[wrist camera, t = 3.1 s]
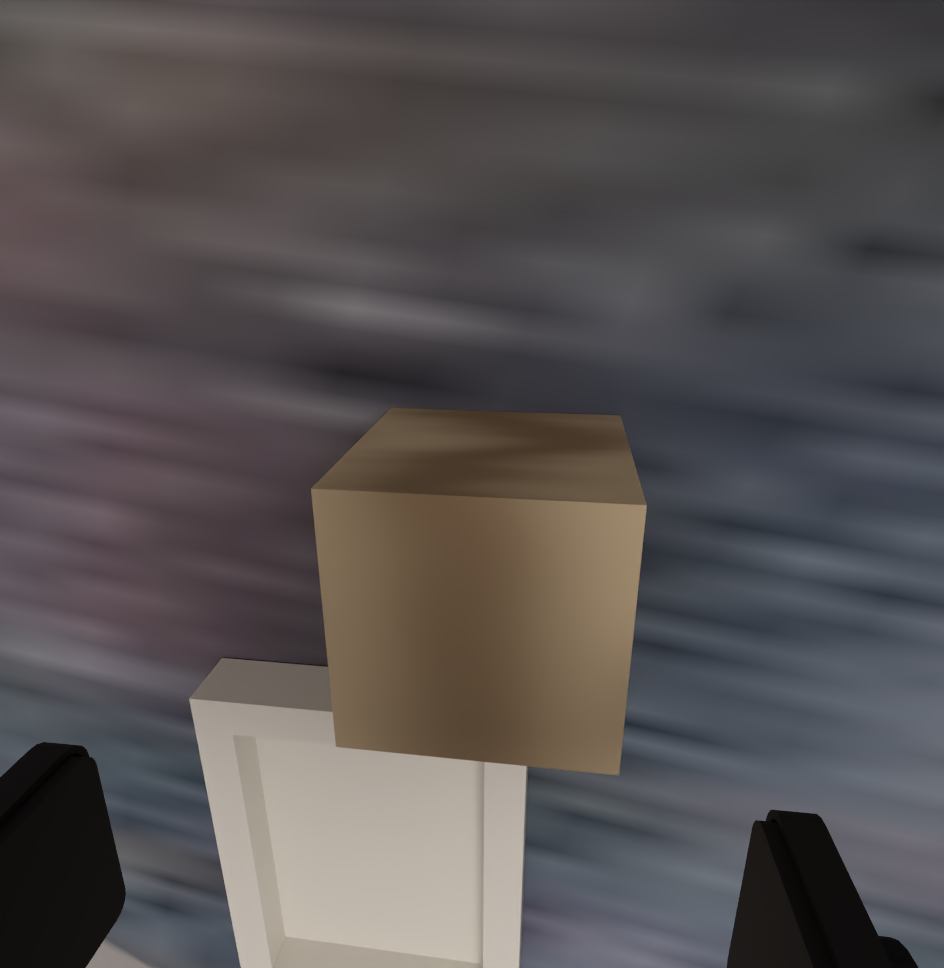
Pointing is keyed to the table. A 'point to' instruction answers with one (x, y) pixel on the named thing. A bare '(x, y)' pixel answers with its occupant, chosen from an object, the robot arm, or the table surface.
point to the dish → (353, 835)
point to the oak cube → (482, 586)
